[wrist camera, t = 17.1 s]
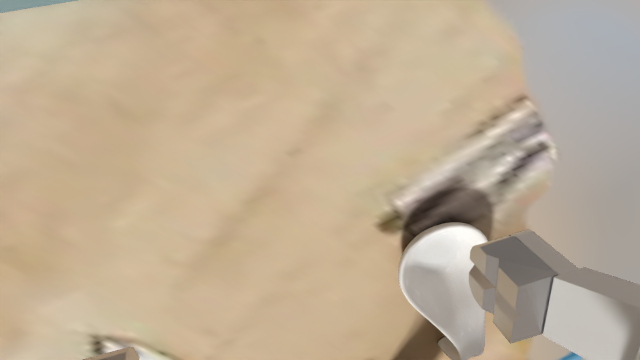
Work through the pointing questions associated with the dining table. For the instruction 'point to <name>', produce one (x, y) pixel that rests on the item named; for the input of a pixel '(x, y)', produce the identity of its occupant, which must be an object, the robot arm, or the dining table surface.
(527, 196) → the dining table surface
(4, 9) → the parts tray
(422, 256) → the spoon rest
